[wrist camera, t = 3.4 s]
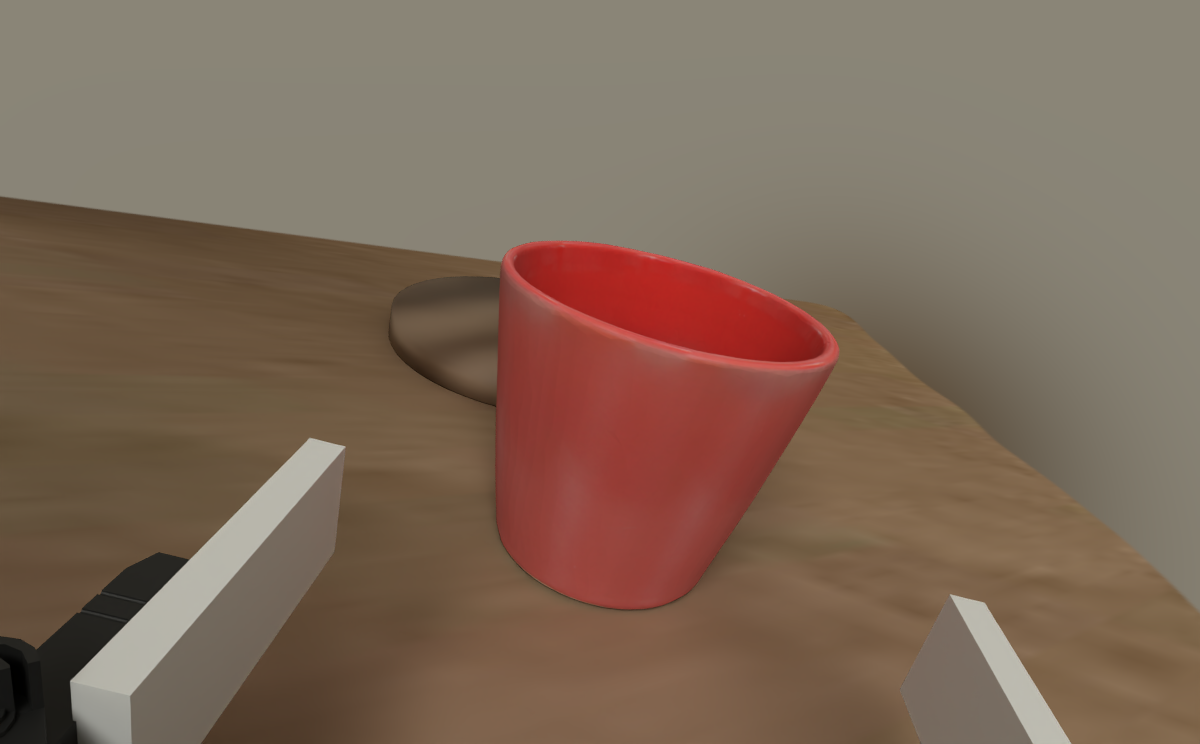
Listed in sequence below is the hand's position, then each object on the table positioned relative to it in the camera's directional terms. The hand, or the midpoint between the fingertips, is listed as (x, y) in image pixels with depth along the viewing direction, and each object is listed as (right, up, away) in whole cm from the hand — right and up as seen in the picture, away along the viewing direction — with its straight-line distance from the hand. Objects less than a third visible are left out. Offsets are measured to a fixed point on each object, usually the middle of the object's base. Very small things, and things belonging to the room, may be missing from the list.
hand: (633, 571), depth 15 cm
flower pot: (-1, -2, +11) cm, 11 cm away
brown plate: (-5, +6, +26) cm, 27 cm away
